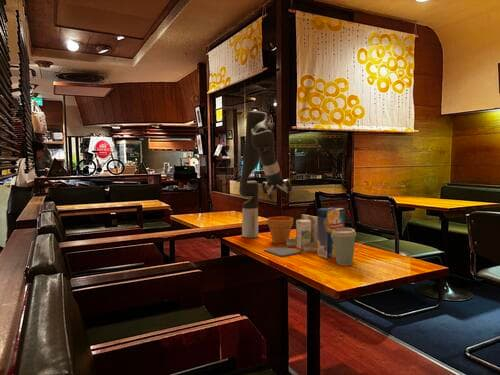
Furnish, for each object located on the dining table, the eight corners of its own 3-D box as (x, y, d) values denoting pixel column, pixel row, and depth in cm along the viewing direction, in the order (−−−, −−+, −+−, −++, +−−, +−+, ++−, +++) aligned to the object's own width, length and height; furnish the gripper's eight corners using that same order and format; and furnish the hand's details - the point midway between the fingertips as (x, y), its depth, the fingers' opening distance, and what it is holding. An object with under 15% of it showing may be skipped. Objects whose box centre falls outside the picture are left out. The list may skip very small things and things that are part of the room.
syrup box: (305, 246, 186) (305, 218, 185) (311, 248, 180) (311, 220, 179) (295, 247, 184) (295, 219, 183) (301, 249, 178) (301, 221, 177)
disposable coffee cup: (352, 268, 146) (352, 232, 145) (327, 264, 152) (327, 230, 151) (359, 262, 155) (359, 228, 154) (335, 259, 161) (335, 226, 160)
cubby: (286, 246, 185) (286, 216, 184) (303, 243, 192) (302, 214, 190) (305, 252, 173) (305, 220, 172) (322, 248, 180) (322, 217, 179)
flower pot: (264, 239, 203) (264, 217, 202) (287, 237, 207) (287, 215, 206) (272, 245, 189) (272, 221, 188) (297, 243, 193) (297, 219, 192)
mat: (264, 251, 177) (264, 249, 177) (282, 247, 184) (282, 246, 184) (281, 257, 165) (281, 255, 165) (301, 253, 172) (301, 251, 172)
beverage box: (344, 254, 168) (344, 208, 166) (327, 258, 162) (327, 210, 160) (334, 251, 174) (334, 207, 172) (317, 255, 168) (317, 209, 166)
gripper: (287, 165, 170) (295, 193, 177) (260, 168, 175) (268, 195, 183) (284, 173, 164) (292, 201, 171) (256, 176, 169) (265, 204, 177)
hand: (280, 198), depth 177 cm, fingers open, 8 cm apart
